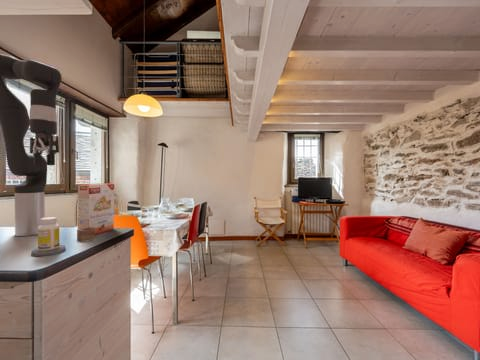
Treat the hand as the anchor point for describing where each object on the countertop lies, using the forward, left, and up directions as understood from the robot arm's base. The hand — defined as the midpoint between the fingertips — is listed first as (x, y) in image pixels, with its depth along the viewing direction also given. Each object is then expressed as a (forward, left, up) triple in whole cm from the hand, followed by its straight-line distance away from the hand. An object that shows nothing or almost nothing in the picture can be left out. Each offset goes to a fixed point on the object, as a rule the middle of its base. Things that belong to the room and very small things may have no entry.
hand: (44, 165), depth 85 cm
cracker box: (+2, +18, -28) cm, 34 cm away
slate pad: (+13, -5, -28) cm, 31 cm away
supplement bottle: (+13, -5, -27) cm, 31 cm away
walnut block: (+9, +9, -28) cm, 31 cm away
